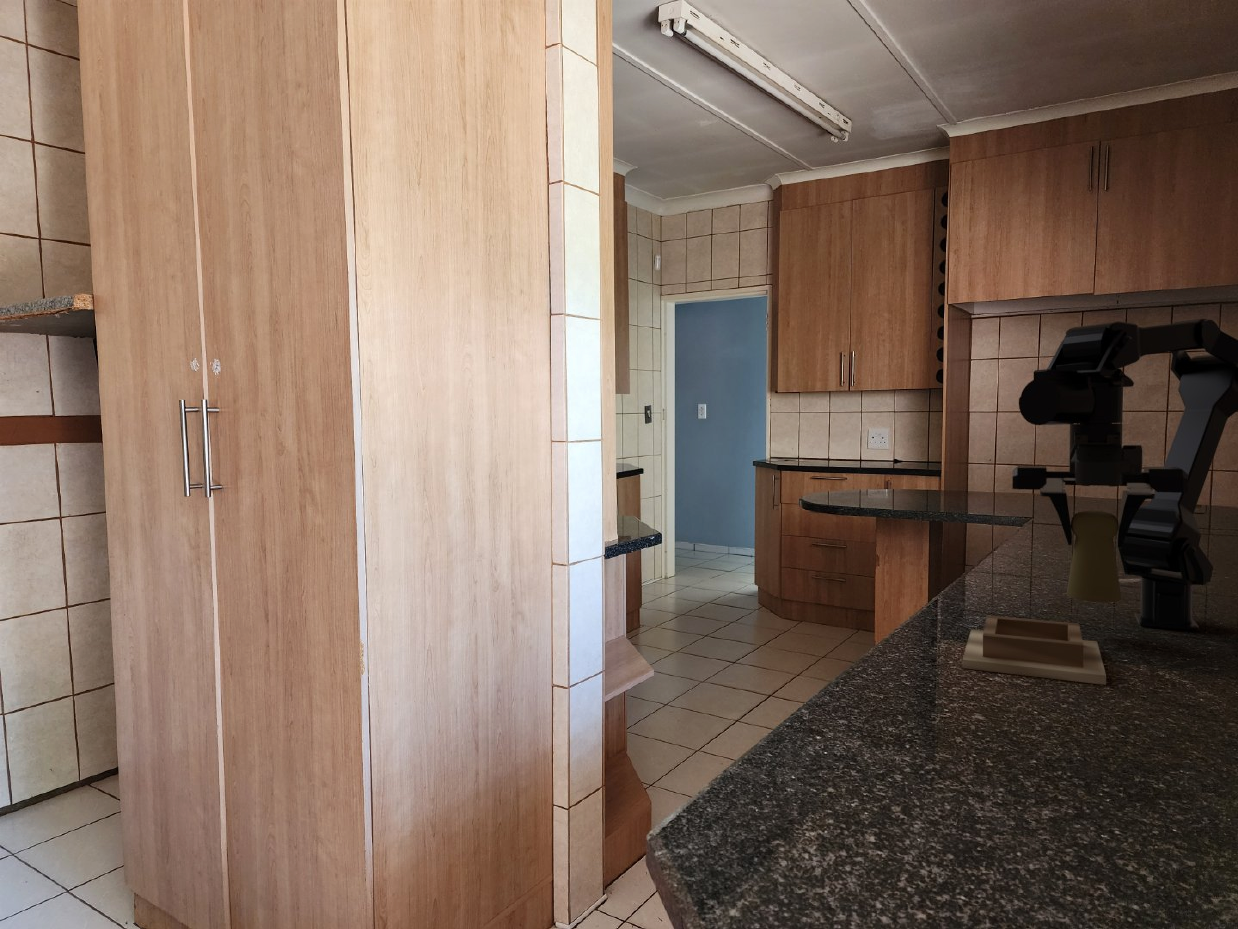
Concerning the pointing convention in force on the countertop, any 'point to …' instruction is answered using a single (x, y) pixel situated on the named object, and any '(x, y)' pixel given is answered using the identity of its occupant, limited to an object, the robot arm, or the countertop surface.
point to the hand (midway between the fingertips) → (1094, 546)
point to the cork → (1094, 558)
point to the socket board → (1034, 650)
